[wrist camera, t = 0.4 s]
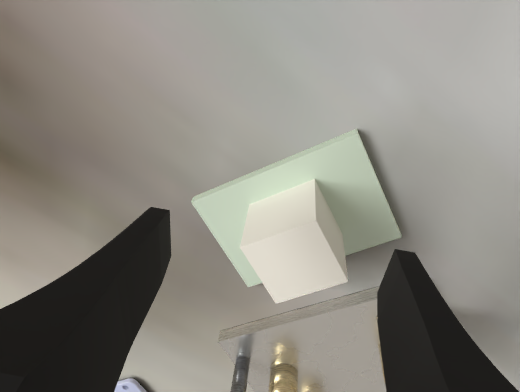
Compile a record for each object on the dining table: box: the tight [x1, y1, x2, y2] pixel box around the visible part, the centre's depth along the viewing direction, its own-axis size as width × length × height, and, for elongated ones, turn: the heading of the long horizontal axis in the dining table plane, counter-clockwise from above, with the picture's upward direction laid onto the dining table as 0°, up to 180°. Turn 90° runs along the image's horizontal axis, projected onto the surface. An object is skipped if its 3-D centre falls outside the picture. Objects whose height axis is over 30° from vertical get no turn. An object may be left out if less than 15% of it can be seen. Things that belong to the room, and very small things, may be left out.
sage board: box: [191, 129, 402, 304], centre depth 23 cm, size 10×7×5 cm
